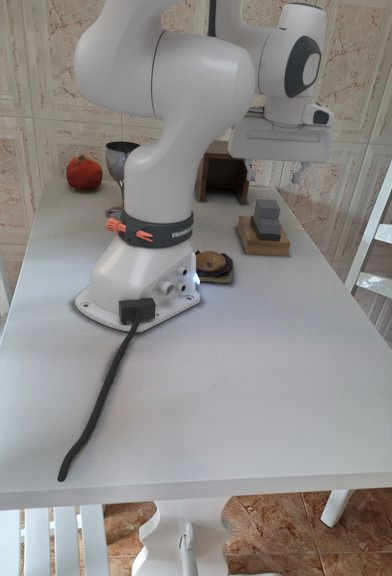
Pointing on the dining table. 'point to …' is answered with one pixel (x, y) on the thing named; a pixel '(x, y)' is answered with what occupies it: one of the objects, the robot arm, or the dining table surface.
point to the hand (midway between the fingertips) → (273, 181)
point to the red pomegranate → (84, 173)
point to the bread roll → (214, 267)
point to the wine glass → (118, 166)
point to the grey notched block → (266, 220)
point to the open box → (222, 171)
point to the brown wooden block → (261, 246)
